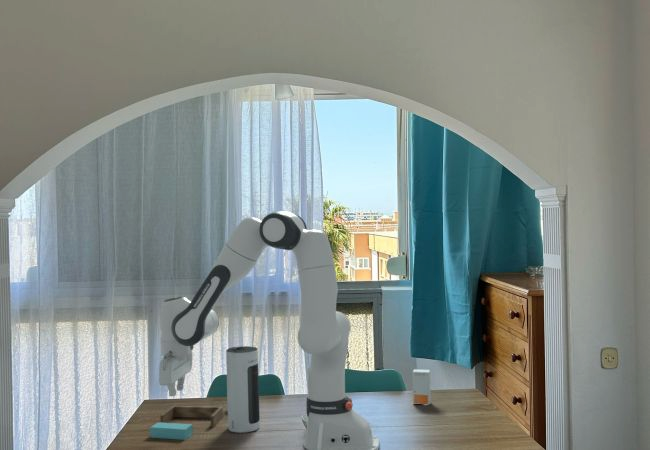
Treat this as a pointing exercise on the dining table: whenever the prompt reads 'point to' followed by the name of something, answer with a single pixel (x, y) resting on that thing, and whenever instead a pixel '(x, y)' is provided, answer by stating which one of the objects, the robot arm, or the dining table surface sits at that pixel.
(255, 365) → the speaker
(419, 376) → the skincare box
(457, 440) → the dining table surface
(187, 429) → the turquoise rectangular block
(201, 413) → the walnut box
